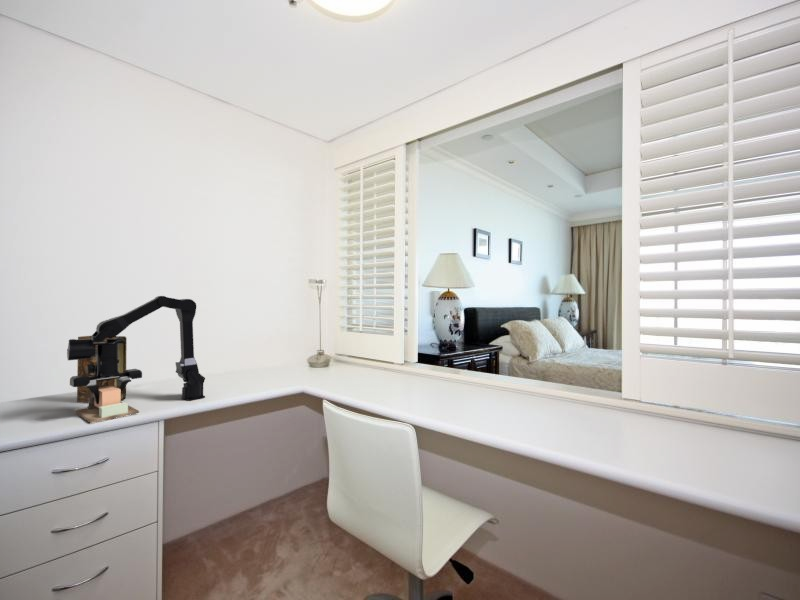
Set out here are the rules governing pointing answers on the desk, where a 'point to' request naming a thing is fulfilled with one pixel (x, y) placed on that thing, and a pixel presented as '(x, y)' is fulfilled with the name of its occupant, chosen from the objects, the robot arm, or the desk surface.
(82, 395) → the book
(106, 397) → the peach rectangular block
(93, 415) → the shelf board
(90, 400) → the bookend
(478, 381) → the desk surface
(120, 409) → the pale green rectangular block
